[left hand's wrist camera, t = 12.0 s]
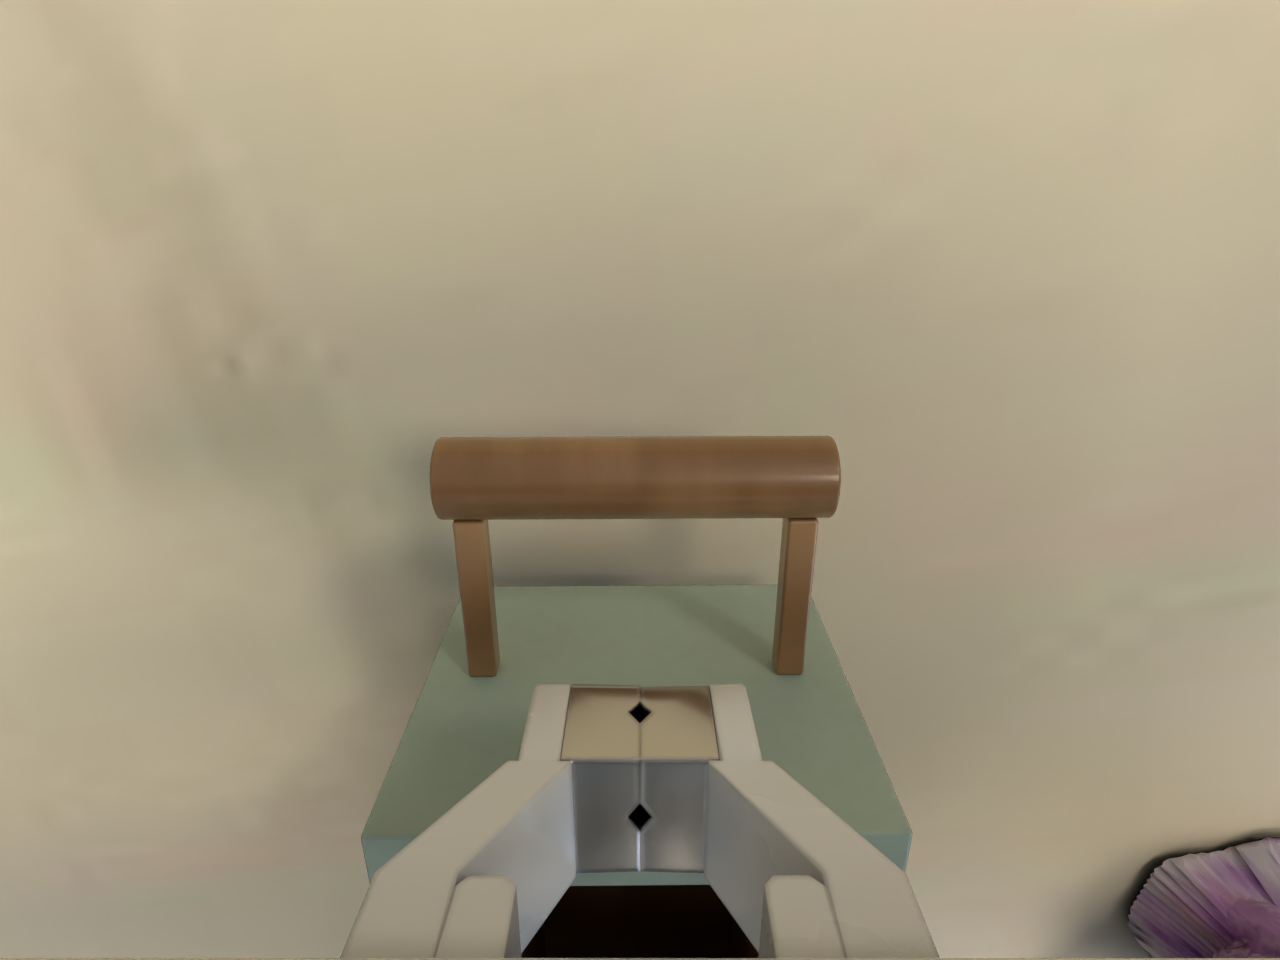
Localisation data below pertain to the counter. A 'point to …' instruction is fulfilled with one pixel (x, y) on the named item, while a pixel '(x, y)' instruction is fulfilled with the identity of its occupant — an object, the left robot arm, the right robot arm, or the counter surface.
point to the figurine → (1212, 904)
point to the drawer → (635, 658)
